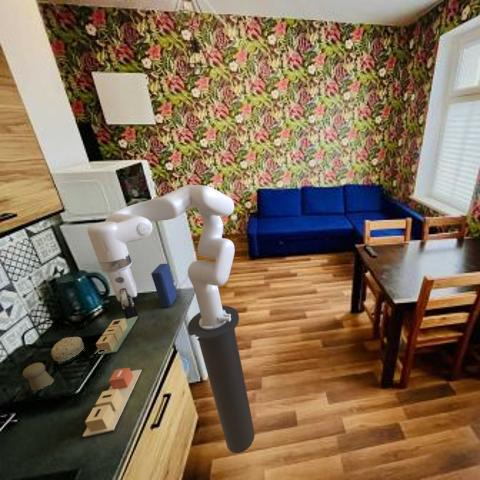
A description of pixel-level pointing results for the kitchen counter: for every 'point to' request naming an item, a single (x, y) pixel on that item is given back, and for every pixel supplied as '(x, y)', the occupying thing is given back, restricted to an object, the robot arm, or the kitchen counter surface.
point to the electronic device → (164, 285)
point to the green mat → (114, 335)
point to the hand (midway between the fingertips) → (131, 309)
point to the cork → (37, 376)
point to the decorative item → (67, 348)
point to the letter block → (121, 378)
